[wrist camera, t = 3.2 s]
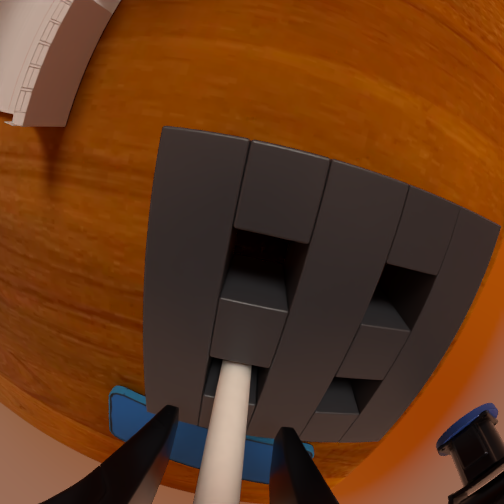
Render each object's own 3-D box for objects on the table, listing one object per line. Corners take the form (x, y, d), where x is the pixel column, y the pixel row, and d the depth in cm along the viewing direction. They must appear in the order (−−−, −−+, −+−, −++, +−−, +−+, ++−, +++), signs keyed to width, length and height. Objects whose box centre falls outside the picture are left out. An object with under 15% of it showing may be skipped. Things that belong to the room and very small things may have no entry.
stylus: (260, 323, 13) (244, 565, 3) (245, 339, 14) (216, 564, 3) (239, 310, 13) (196, 557, 3) (225, 326, 14) (173, 555, 3)
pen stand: (448, 204, 11) (501, 226, 7) (363, 391, 15) (378, 441, 11) (196, 133, 11) (161, 125, 7) (168, 360, 15) (146, 412, 11)
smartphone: (108, 386, 15) (319, 451, 16) (114, 377, 16) (318, 441, 17) (109, 434, 17) (276, 485, 18) (113, 426, 18) (277, 477, 19)
